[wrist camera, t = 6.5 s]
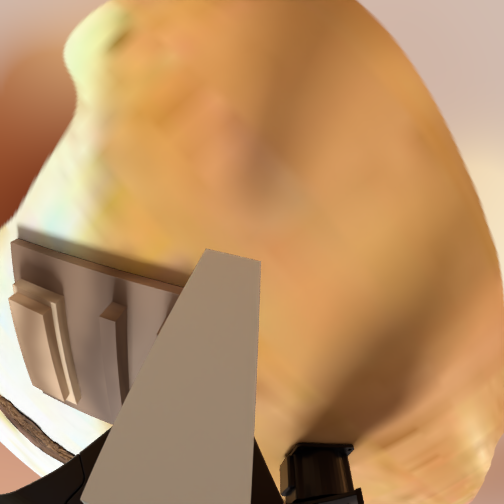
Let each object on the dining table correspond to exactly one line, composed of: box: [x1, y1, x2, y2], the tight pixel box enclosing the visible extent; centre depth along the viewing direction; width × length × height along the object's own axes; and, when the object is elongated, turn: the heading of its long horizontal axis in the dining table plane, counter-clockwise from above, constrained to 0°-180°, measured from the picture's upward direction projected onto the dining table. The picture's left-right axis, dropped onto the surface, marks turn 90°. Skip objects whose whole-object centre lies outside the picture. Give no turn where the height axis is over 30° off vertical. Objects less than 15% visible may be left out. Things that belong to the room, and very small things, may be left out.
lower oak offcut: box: [13, 279, 82, 405], centre depth 20 cm, size 5×12×1 cm, turn 167°
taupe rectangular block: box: [80, 249, 261, 504], centre depth 7 cm, size 2×7×9 cm, turn 167°
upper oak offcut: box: [8, 292, 70, 402], centre depth 18 cm, size 4×10×1 cm, turn 167°
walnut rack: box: [11, 238, 184, 424], centre depth 20 cm, size 18×18×3 cm
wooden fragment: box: [0, 395, 74, 464], centre depth 30 cm, size 26×11×1 cm, turn 41°
